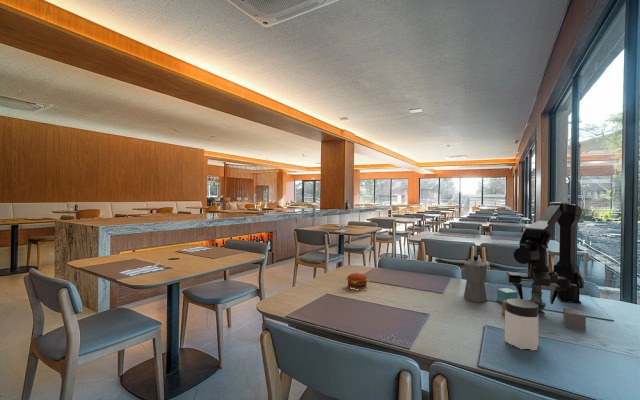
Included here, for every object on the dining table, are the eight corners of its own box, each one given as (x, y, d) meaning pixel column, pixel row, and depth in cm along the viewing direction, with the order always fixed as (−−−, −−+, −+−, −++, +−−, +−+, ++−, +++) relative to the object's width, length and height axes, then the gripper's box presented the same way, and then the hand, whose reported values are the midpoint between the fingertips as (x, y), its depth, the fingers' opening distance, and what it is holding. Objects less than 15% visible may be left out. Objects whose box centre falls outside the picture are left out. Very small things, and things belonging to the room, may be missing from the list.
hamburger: (343, 286, 145) (343, 272, 145) (360, 283, 149) (360, 270, 149) (354, 291, 136) (354, 277, 136) (371, 289, 141) (371, 274, 141)
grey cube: (582, 325, 100) (582, 310, 100) (585, 331, 96) (585, 315, 96) (563, 322, 103) (563, 307, 103) (565, 327, 99) (565, 312, 99)
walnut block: (516, 314, 110) (516, 300, 110) (524, 320, 105) (524, 305, 105) (502, 313, 111) (502, 300, 111) (509, 319, 106) (509, 305, 106)
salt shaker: (549, 315, 108) (549, 282, 108) (531, 314, 110) (531, 281, 110) (541, 309, 114) (541, 278, 114) (523, 308, 115) (524, 277, 115)
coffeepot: (494, 304, 120) (495, 259, 120) (470, 304, 120) (470, 259, 120) (477, 292, 135) (477, 252, 135) (455, 291, 136) (455, 252, 136)
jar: (507, 334, 94) (507, 296, 94) (539, 342, 89) (540, 301, 89) (502, 344, 88) (502, 304, 87) (537, 354, 82) (537, 310, 82)
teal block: (508, 300, 125) (508, 288, 125) (517, 304, 120) (517, 291, 120) (497, 300, 125) (497, 288, 124) (506, 304, 120) (506, 292, 120)
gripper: (512, 263, 108) (511, 306, 108) (577, 267, 101) (576, 314, 101) (506, 257, 118) (505, 296, 118) (564, 261, 111) (564, 303, 111)
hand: (536, 302), depth 112 cm, fingers open, 9 cm apart
